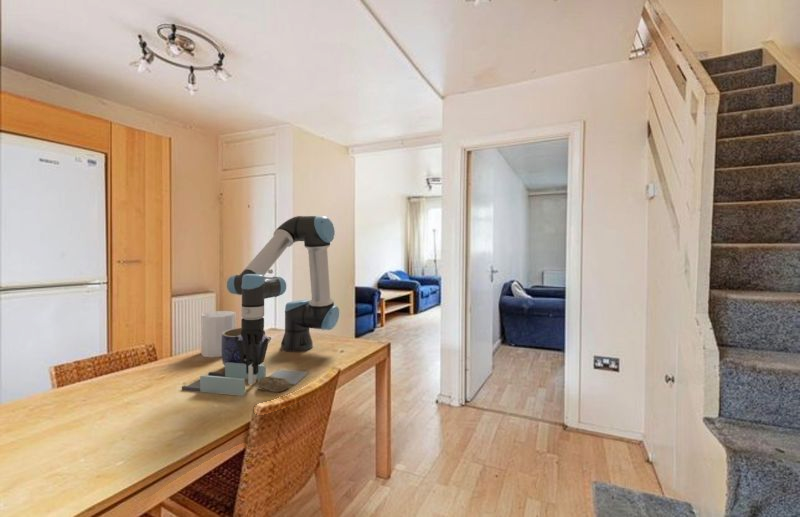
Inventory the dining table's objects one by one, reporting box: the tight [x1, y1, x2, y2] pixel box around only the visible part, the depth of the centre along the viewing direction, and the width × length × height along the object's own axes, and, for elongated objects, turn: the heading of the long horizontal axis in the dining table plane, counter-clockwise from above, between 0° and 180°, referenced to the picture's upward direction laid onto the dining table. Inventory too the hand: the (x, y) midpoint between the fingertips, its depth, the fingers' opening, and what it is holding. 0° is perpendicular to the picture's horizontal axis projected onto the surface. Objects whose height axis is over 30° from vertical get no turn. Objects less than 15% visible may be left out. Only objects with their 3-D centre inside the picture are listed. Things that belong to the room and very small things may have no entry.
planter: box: [221, 327, 266, 367], centre depth 153 cm, size 16×17×15 cm
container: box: [200, 310, 237, 358], centre depth 172 cm, size 14×14×18 cm
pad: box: [267, 368, 310, 387], centre depth 143 cm, size 13×13×1 cm
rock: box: [257, 375, 292, 393], centre depth 132 cm, size 8×11×4 cm
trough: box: [181, 362, 267, 397], centre depth 134 cm, size 15×23×6 cm, turn 81°
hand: (252, 382), depth 133 cm, fingers closed
